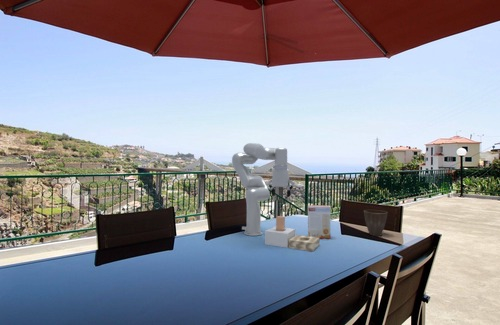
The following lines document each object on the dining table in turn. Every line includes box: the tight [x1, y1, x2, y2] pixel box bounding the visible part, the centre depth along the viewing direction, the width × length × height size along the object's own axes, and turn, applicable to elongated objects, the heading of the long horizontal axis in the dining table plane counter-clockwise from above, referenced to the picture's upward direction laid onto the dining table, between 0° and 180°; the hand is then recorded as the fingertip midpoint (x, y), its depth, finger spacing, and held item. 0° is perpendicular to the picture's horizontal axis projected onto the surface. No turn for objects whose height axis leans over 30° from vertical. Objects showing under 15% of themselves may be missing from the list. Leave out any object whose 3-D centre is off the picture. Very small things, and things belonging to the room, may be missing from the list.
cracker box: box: [307, 204, 331, 240], centre depth 190 cm, size 14×6×21 cm, turn 84°
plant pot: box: [363, 209, 388, 237], centre depth 199 cm, size 15×15×16 cm
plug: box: [275, 215, 286, 231], centre depth 176 cm, size 4×4×12 cm
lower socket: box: [288, 234, 321, 252], centre depth 169 cm, size 14×14×4 cm
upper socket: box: [264, 226, 296, 249], centre depth 176 cm, size 14×14×8 cm
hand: (280, 196), depth 176 cm, fingers open, 9 cm apart
